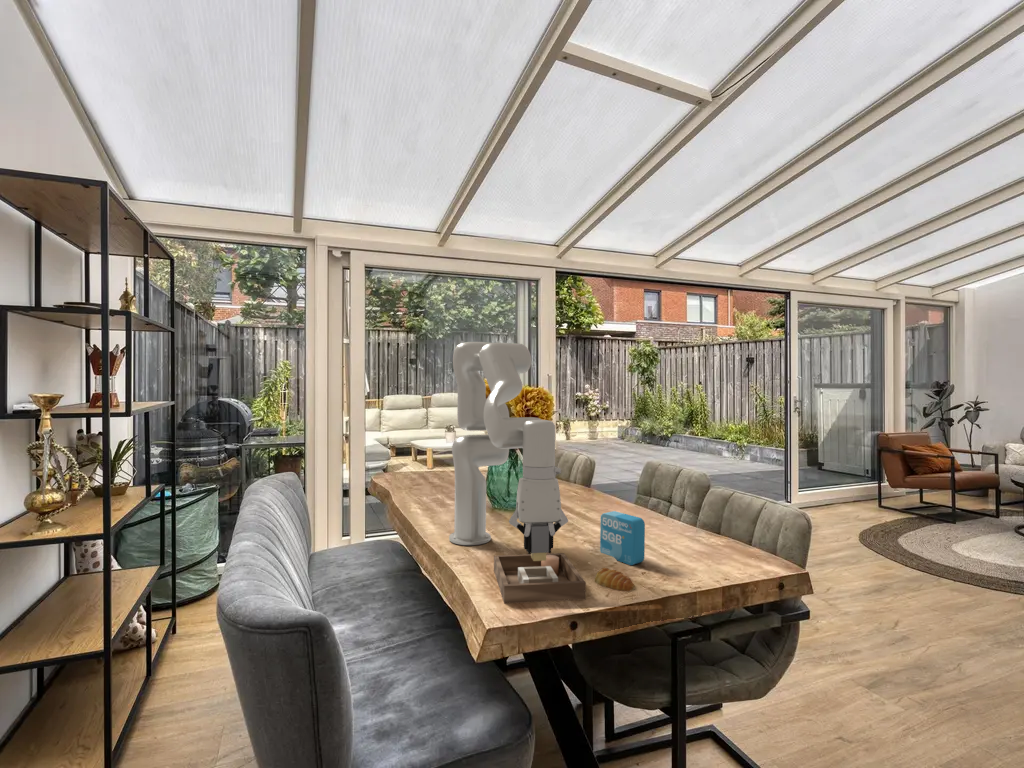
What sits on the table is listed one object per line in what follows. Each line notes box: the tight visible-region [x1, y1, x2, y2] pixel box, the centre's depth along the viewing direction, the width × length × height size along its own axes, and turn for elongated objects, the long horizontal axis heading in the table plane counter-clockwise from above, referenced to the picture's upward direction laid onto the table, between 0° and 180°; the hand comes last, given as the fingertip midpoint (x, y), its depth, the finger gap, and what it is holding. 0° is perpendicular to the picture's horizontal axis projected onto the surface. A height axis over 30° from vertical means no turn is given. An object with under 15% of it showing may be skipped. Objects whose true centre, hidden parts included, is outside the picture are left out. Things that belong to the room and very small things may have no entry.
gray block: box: [530, 523, 549, 561], centre depth 125 cm, size 4×4×8 cm
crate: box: [493, 552, 587, 604], centre depth 127 cm, size 20×18×4 cm
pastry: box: [594, 567, 636, 592], centre depth 127 cm, size 9×7×4 cm
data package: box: [599, 510, 646, 566], centre depth 147 cm, size 12×4×12 cm, turn 39°
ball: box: [541, 555, 559, 576], centre depth 133 cm, size 4×4×4 cm
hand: (538, 551), depth 125 cm, fingers closed on gray block, 4 cm apart
